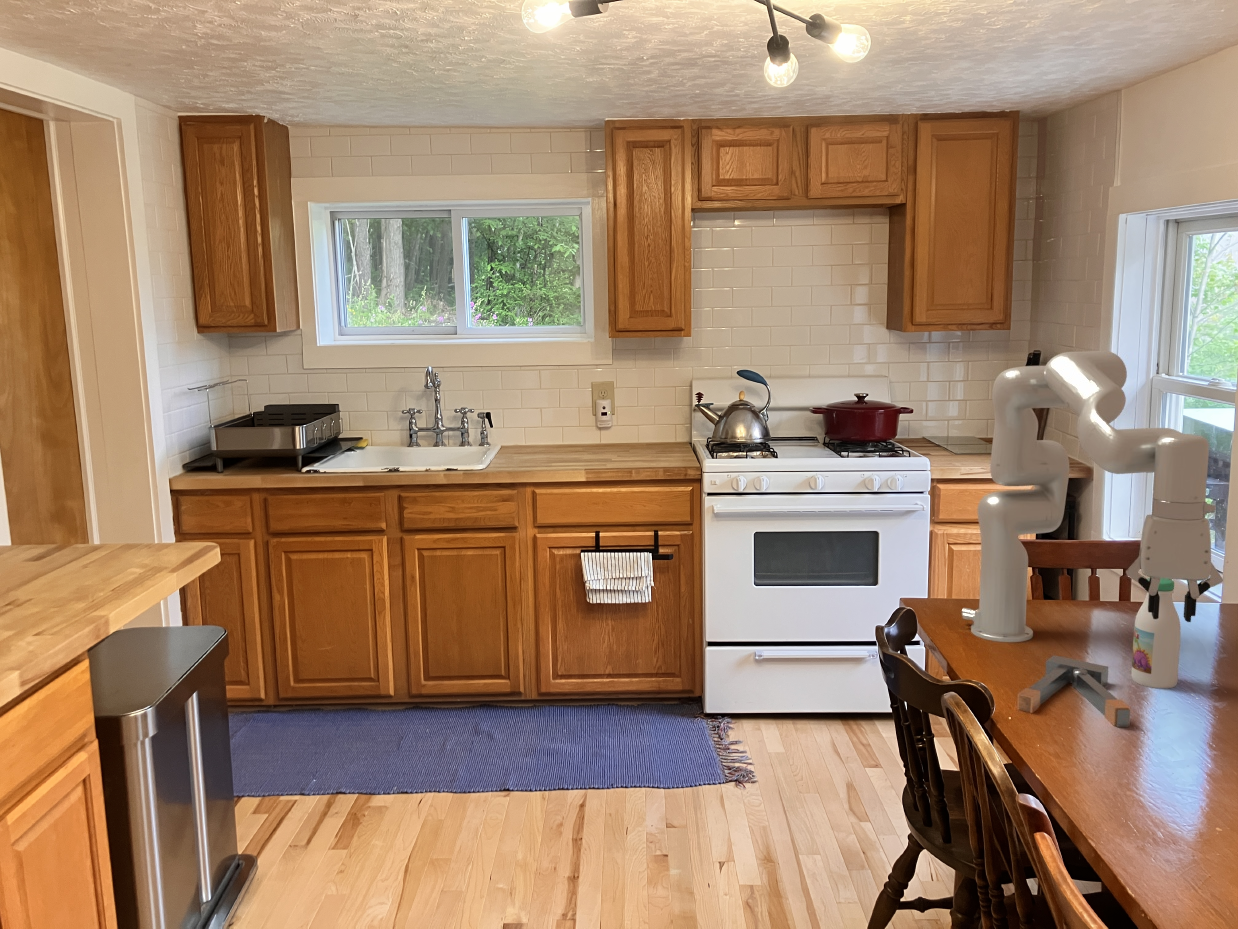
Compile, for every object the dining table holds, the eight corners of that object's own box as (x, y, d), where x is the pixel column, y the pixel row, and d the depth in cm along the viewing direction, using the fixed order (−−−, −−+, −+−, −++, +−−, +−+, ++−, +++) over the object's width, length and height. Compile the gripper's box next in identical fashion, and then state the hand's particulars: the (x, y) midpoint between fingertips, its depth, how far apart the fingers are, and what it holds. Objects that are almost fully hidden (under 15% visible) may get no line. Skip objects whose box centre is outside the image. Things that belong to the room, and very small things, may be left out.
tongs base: (1006, 708, 179) (1006, 689, 178) (1052, 672, 195) (1053, 655, 195) (1064, 722, 172) (1065, 703, 171) (1107, 684, 189) (1108, 666, 188)
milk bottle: (1172, 677, 191) (1179, 575, 188) (1180, 692, 184) (1188, 586, 181) (1128, 673, 194) (1134, 573, 191) (1134, 687, 187) (1140, 583, 184)
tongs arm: (1069, 685, 188) (1070, 668, 187) (1083, 684, 188) (1084, 668, 187) (1115, 727, 169) (1116, 709, 168) (1130, 727, 169) (1132, 709, 168)
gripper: (1233, 508, 164) (1225, 616, 166) (1119, 503, 170) (1113, 607, 173) (1241, 517, 157) (1233, 630, 159) (1122, 511, 163) (1116, 620, 166)
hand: (1171, 617), depth 166 cm, fingers open, 4 cm apart
